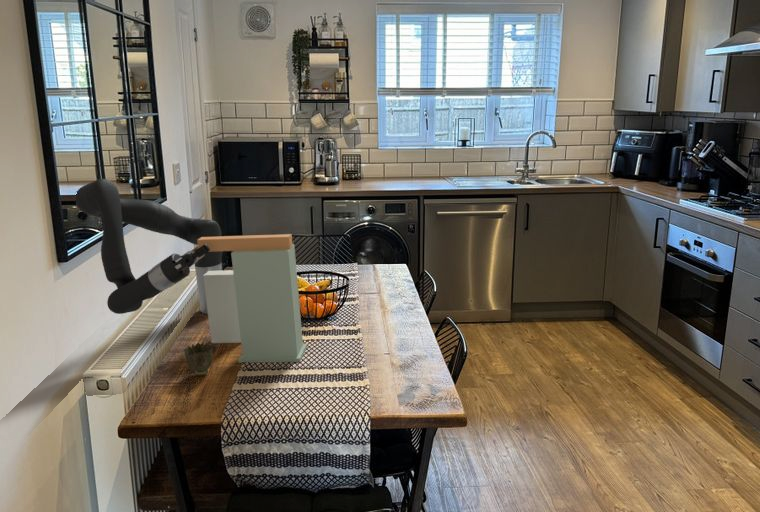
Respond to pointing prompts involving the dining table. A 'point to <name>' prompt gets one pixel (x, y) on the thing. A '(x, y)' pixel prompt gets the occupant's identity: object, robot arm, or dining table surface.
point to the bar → (247, 242)
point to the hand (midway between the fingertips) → (213, 243)
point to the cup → (199, 358)
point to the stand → (268, 305)
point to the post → (222, 306)
